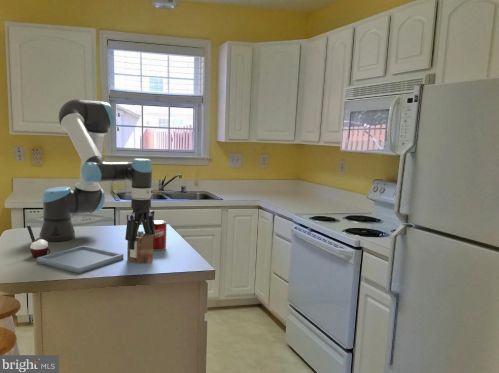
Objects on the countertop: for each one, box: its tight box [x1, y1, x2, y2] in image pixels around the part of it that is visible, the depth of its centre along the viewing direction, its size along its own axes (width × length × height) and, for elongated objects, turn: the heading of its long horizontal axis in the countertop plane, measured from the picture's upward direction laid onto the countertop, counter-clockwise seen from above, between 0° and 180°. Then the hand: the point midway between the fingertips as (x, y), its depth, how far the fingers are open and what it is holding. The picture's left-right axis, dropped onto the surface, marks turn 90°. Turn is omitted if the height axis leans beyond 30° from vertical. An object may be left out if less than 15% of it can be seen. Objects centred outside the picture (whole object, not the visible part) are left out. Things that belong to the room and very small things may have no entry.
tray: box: [36, 245, 124, 275], centre depth 162 cm, size 22×22×2 cm
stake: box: [138, 230, 145, 237], centre depth 167 cm, size 2×2×12 cm
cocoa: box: [26, 224, 51, 259], centre depth 165 cm, size 10×6×12 cm, turn 57°
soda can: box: [153, 220, 168, 252], centre depth 184 cm, size 7×7×12 cm
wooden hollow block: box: [126, 232, 154, 264], centre depth 166 cm, size 9×7×10 cm
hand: (140, 254), depth 167 cm, fingers open, 7 cm apart
